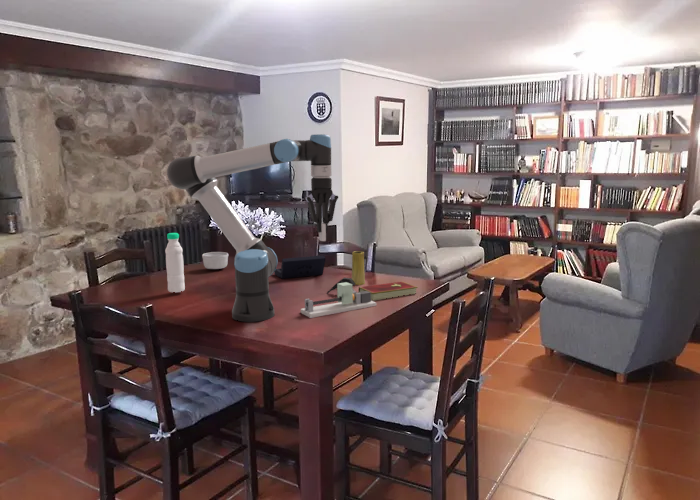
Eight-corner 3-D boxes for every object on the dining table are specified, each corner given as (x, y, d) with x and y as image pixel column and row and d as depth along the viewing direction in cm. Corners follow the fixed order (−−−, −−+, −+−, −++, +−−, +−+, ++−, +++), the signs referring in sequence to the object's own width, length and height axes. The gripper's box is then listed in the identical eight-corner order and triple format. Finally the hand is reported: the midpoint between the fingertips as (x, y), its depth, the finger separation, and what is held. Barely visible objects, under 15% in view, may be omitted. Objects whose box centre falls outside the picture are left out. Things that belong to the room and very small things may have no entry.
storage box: (314, 270, 277) (313, 250, 275) (325, 276, 262) (325, 256, 260) (274, 274, 268) (273, 253, 267) (284, 280, 254) (283, 259, 252)
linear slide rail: (310, 318, 194) (310, 303, 193) (300, 312, 201) (300, 298, 200) (376, 306, 208) (376, 292, 207) (365, 301, 215) (365, 288, 214)
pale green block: (343, 304, 202) (343, 285, 201) (337, 301, 206) (337, 283, 205) (352, 302, 204) (352, 284, 203) (346, 300, 208) (346, 282, 207)
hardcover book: (358, 296, 225) (358, 286, 225) (401, 290, 235) (401, 280, 234) (372, 302, 215) (372, 292, 214) (417, 296, 224) (417, 286, 224)
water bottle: (182, 292, 232) (178, 234, 227) (165, 293, 232) (161, 234, 227) (187, 288, 239) (183, 232, 234) (170, 288, 239) (167, 232, 234)
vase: (351, 282, 248) (350, 251, 246) (364, 281, 249) (364, 250, 246) (352, 285, 242) (351, 253, 240) (365, 284, 243) (365, 253, 240)
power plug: (327, 289, 231) (349, 273, 228) (338, 303, 231) (360, 287, 228) (324, 292, 226) (346, 276, 223) (335, 307, 226) (358, 290, 223)
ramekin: (222, 263, 294) (221, 250, 293) (233, 267, 284) (232, 254, 283) (198, 266, 286) (198, 253, 285) (209, 270, 276) (208, 257, 275)
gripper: (309, 178, 195) (310, 243, 199) (341, 177, 201) (342, 240, 205) (300, 177, 201) (302, 240, 205) (332, 176, 207) (333, 238, 211)
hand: (322, 240), depth 205 cm, fingers closed
